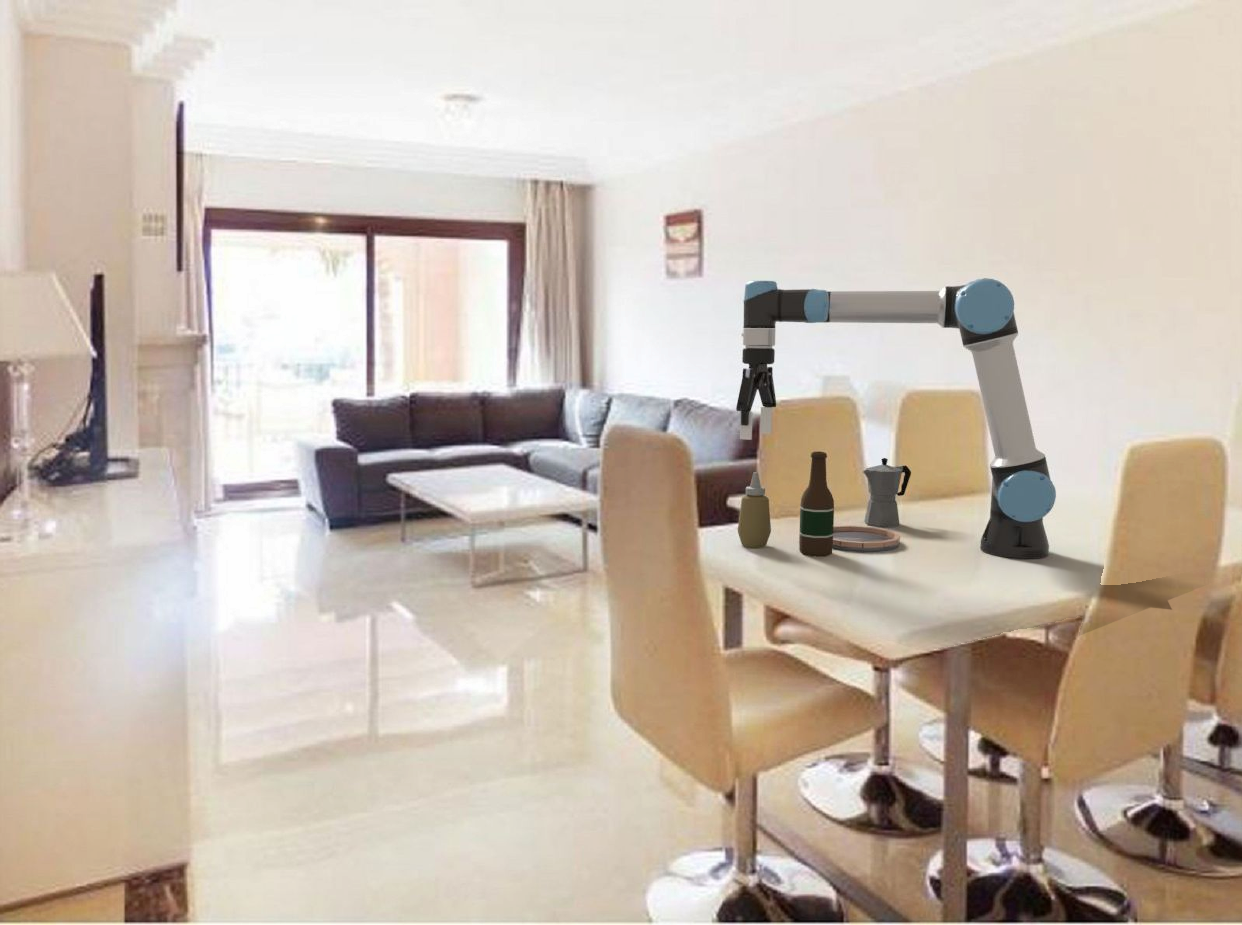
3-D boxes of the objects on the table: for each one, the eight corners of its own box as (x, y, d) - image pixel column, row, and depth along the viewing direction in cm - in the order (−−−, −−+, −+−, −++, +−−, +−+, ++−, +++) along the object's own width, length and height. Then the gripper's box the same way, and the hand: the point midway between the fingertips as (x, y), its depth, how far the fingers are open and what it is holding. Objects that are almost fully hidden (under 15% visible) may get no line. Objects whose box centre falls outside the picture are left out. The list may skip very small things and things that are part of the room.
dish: (915, 544, 238) (916, 535, 238) (864, 555, 226) (865, 546, 226) (849, 530, 254) (850, 522, 253) (799, 540, 241) (799, 532, 241)
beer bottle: (812, 558, 223) (816, 455, 220) (792, 551, 230) (795, 451, 227) (839, 554, 227) (843, 453, 223) (818, 548, 234) (821, 449, 230)
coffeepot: (872, 529, 256) (875, 461, 253) (851, 522, 264) (853, 457, 262) (919, 524, 262) (922, 458, 259) (896, 518, 270) (899, 454, 268)
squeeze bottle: (774, 544, 238) (776, 471, 235) (765, 551, 230) (767, 476, 228) (743, 541, 241) (744, 469, 238) (732, 547, 234) (734, 473, 231)
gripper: (762, 346, 241) (759, 430, 245) (723, 347, 220) (721, 440, 223) (791, 346, 238) (787, 432, 241) (755, 348, 216) (752, 442, 219)
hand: (755, 436), depth 232 cm, fingers open, 13 cm apart
